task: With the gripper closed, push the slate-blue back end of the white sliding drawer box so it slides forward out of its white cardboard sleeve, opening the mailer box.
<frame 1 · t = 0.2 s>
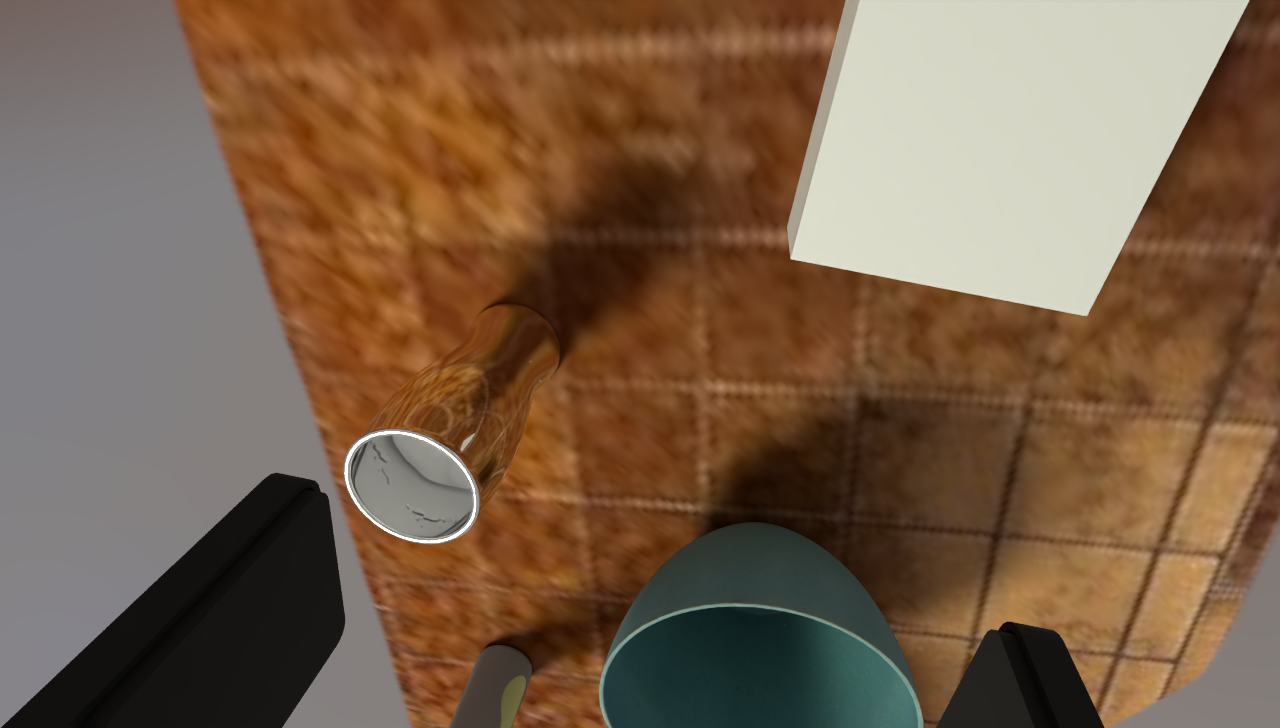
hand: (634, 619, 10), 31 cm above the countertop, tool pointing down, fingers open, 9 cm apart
sleeve: (961, 117, 34), on the countertop
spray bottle: (507, 659, 59), on the countertop
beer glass: (516, 344, 44), on the countertop
teal bowl: (756, 564, 50), on the countertop
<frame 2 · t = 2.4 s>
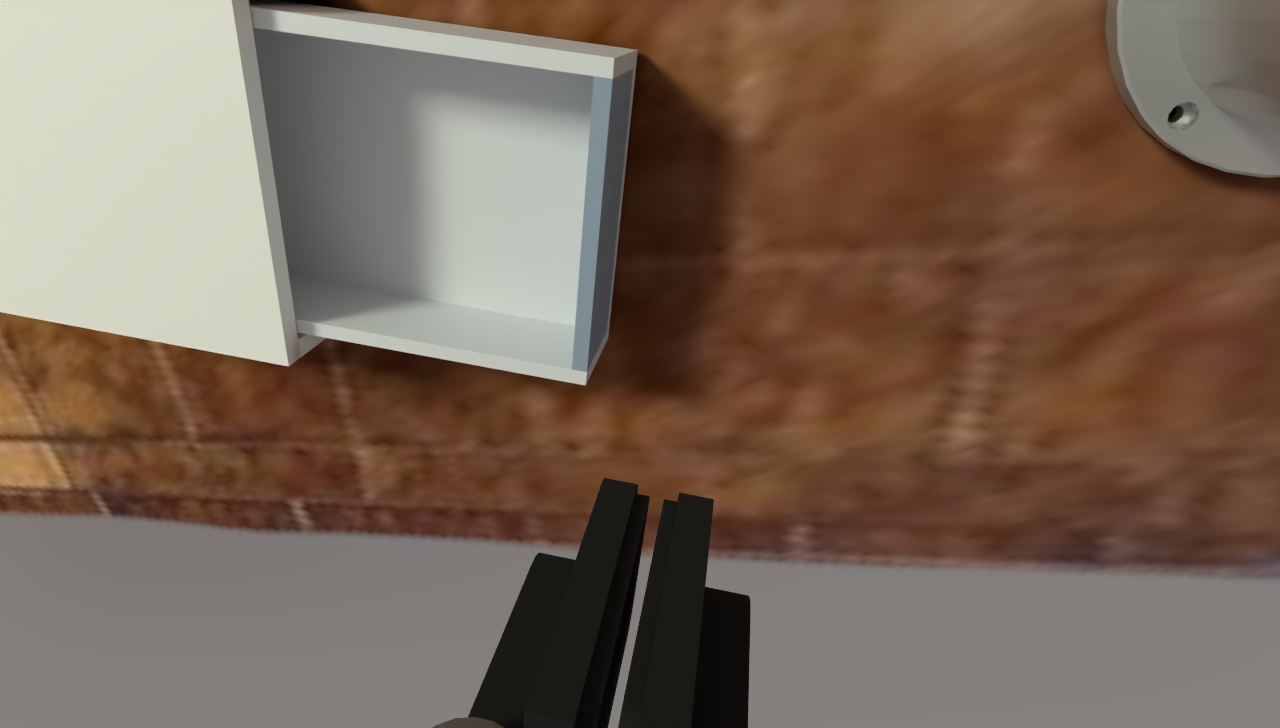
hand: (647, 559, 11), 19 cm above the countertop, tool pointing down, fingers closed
white sliding drawer box: (312, 175, 27), point 2 cm above the countertop, slide at 0.0 cm
sleeve: (193, 138, 29), on the countertop
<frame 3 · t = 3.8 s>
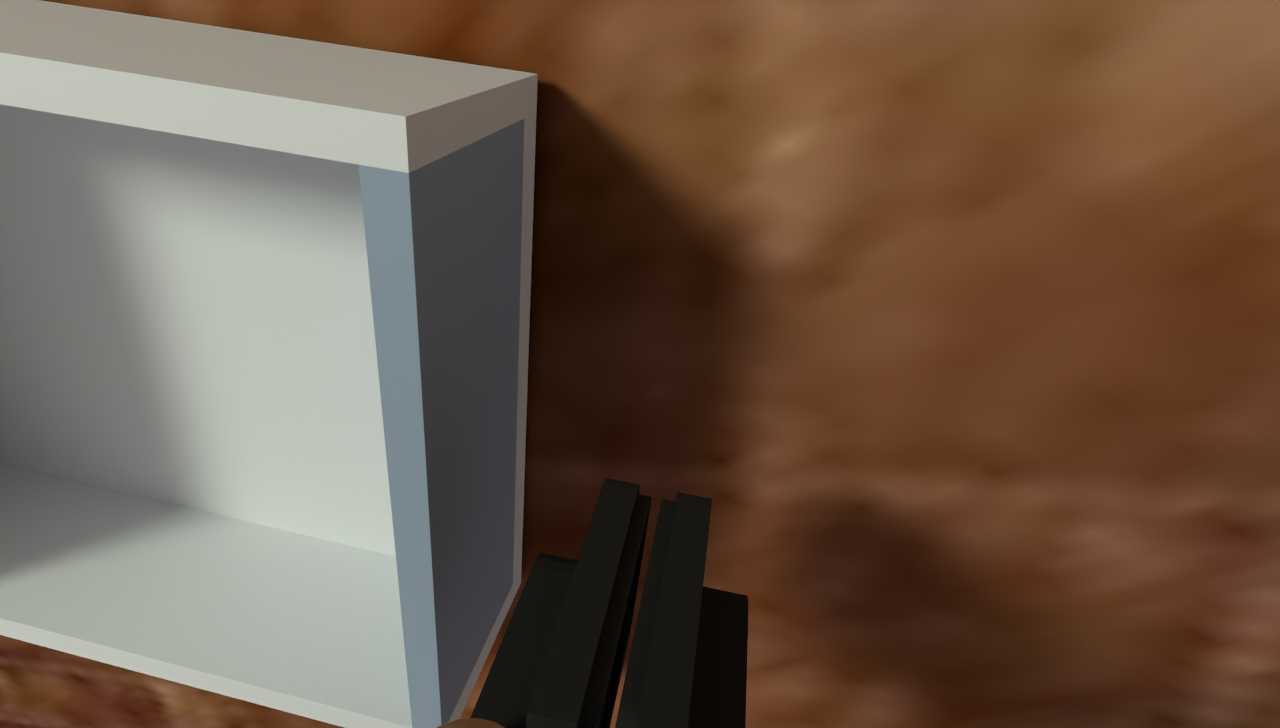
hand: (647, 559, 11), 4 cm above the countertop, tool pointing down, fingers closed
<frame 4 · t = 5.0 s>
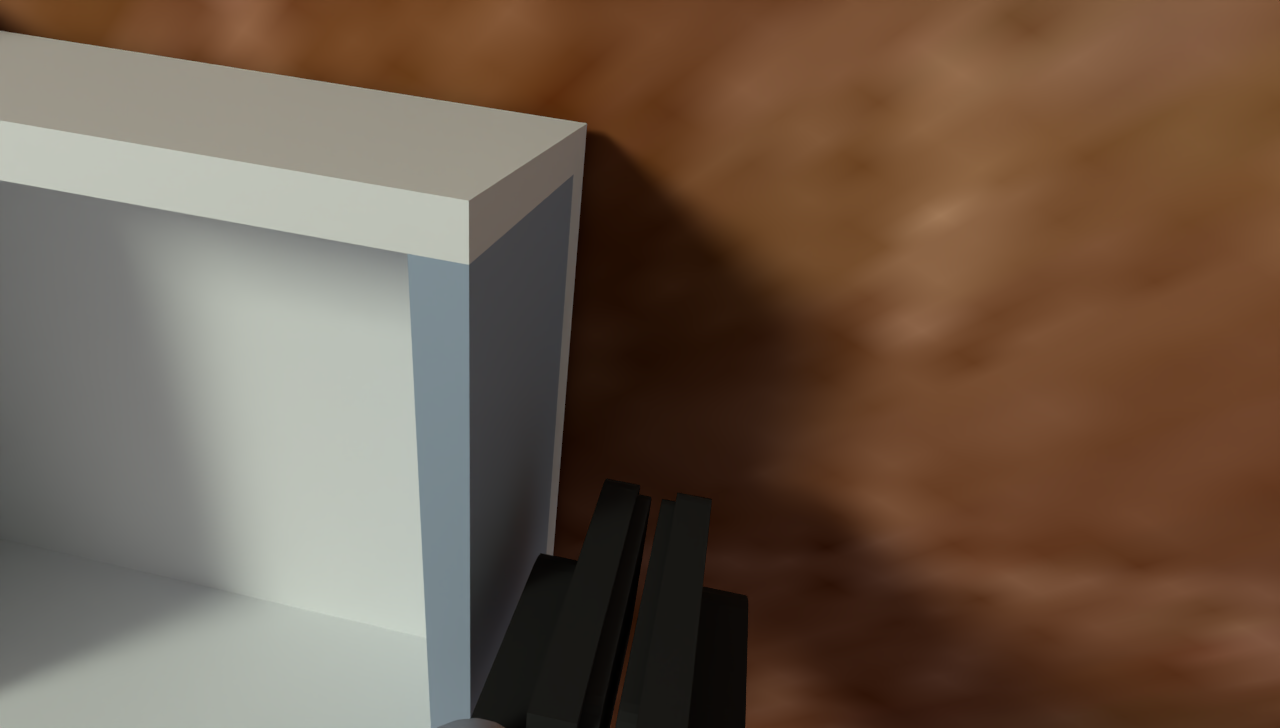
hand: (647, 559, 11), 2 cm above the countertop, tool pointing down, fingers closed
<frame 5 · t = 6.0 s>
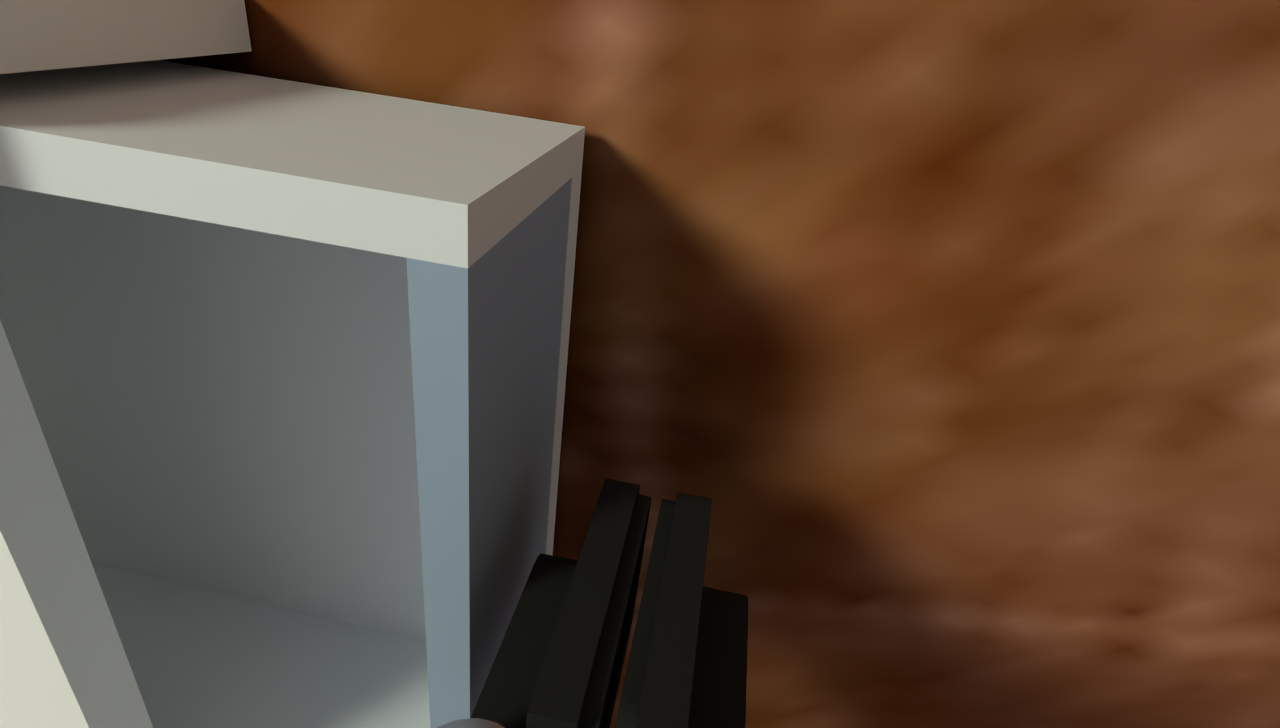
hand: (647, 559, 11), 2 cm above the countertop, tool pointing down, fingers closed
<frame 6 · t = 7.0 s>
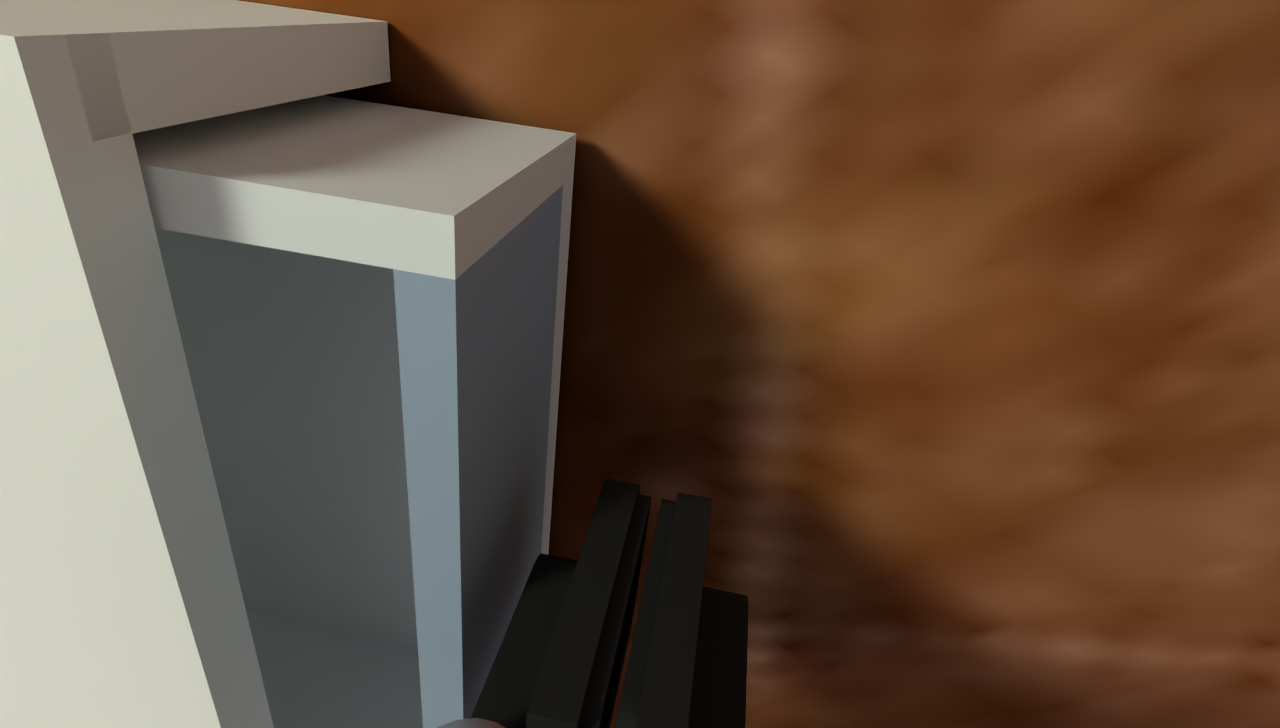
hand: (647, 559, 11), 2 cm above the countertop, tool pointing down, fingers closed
sleeve: (80, 362, 14), on the countertop
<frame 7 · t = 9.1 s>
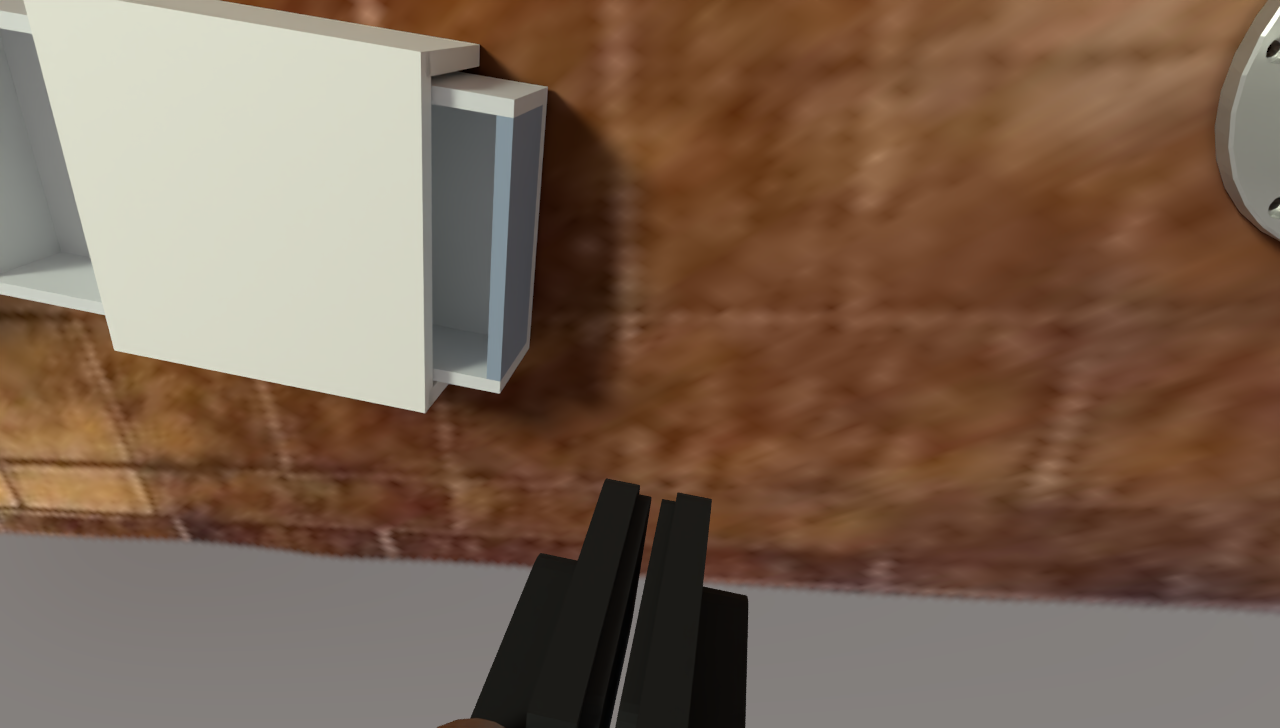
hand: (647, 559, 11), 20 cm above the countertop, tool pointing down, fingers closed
white sliding drawer box: (246, 193, 28), point 2 cm above the countertop, slide at 9.1 cm
sleeve: (325, 189, 30), on the countertop
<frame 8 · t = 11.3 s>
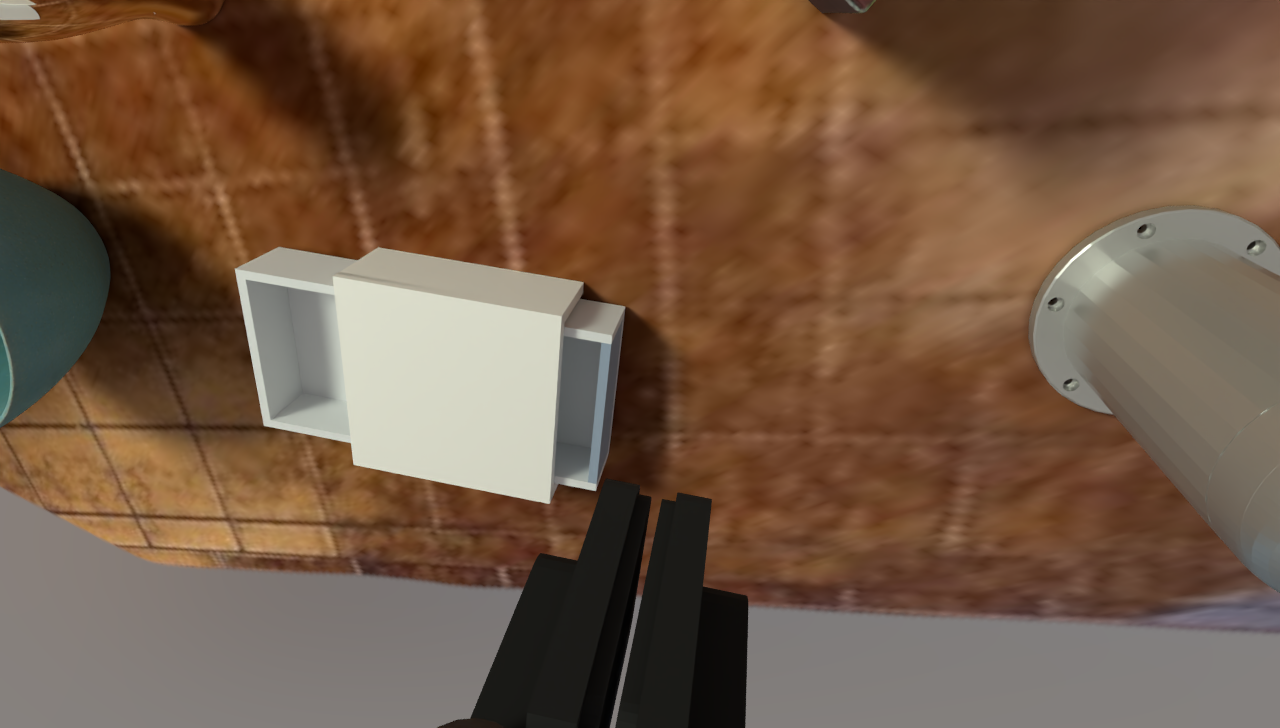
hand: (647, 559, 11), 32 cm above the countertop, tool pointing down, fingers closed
white sliding drawer box: (437, 368, 46), point 2 cm above the countertop, slide at 9.1 cm
sleeve: (479, 358, 48), on the countertop
teal bowl: (58, 243, 49), on the countertop
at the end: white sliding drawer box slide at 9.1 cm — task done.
